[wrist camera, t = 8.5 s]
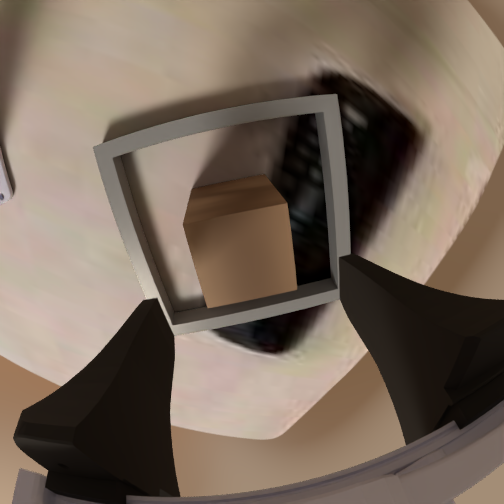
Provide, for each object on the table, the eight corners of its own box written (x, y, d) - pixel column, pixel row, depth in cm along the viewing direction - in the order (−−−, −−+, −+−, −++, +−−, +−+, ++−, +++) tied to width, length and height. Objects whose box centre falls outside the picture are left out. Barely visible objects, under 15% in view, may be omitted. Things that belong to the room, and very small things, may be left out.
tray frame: (166, 324, 22) (164, 337, 21) (101, 143, 15) (92, 146, 14) (343, 285, 22) (350, 296, 21) (327, 94, 16) (336, 93, 14)
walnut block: (207, 253, 20) (207, 308, 14) (191, 188, 18) (182, 224, 12) (274, 239, 20) (297, 289, 15) (264, 174, 18) (287, 203, 12)
